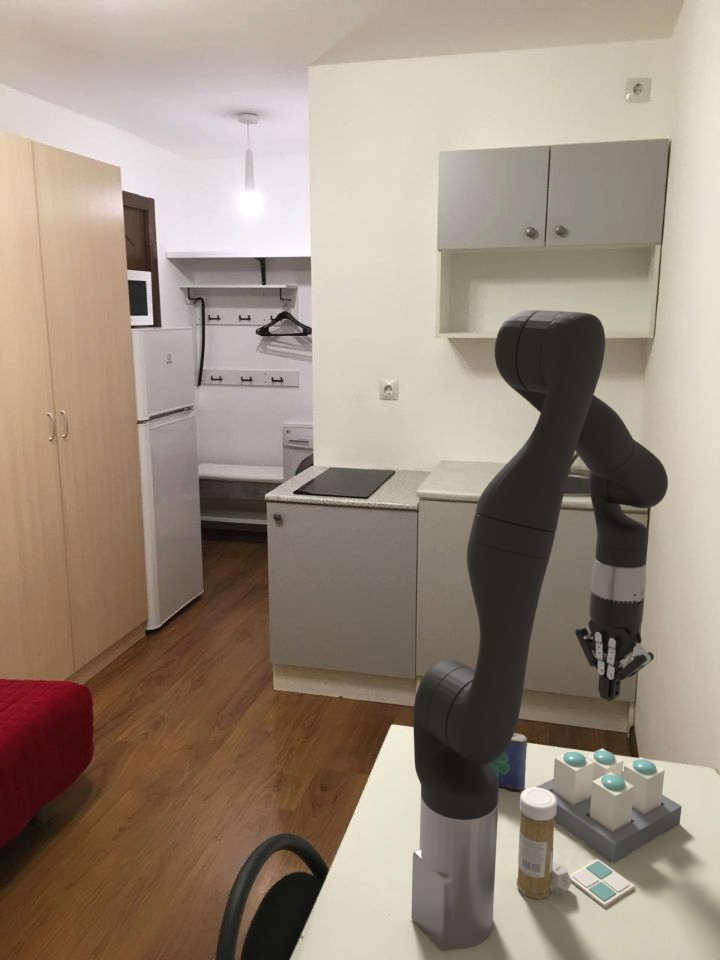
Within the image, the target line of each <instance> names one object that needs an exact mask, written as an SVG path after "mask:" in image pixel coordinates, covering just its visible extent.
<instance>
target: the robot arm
mask: <svg viewBox="0 0 720 960" xmlns="http://www.w3.org/2000/svg"><path fill="white" fill-rule="evenodd" d="M605 349H606V334H605V329H604V326H603V324H602V321H601V320H600V318H598V316H596V315H594V314H591V313H588V312H579V311H563V310H545V309H544V310H542V309H540V310H539V309H538V310H537V309H534V310H533V309H532V310H530V309H529V310H519V311H517V312H514V313H512V314H511V315H509V316H508V317H506V319H505V320H504V321H503V322H502V324H501V326H500V327H499V330H498V332H497V335H496V338H495V342H494V360H495V365H496V368H497V370H498V372H499V375H500V377H501V378H502V379H503V380H504V382H505V383H506V384H507V385H508V386H509V387H510V388H511V389H513V390H514V391H515V392H516V393H518V394H519V395H520V396H521V397H522V398H524V399H525V401H527V402H528V403H529V404H530V405H531V406H533V407H534V408H535V410H536V411H538V412H539V416H538V419H537V422H536V425H535V426H534V428H533V430H532V432H531V434H530V436H529V437H528V439H527V440H526V441H525V443H524V444H523V445H522V446H521V448H520V449H519V450H518V451H517V453H516V454H514V456H513V457H512V458H511V459H510V460H509V461H508V462H506V464H505V465H504V466H503V467H502V468H501V469H500V470H499V472H497V474H496V475H494V477H493V478H492V480H490V482H489V483H488V485H487V486H485V488H484V490H483V491H482V492H481V495H480V496H479V499H478V501H477V505H476V508H475V513H474V517H473V520H472V525H471V528H470V529H471V530H470V533H469V539H468V542H467V548H466V549H467V550H466V565H467V566H466V567H467V573H468V578H469V582H470V586H471V591H472V597H473V600H474V604H475V608H476V613H477V618H478V623H479V645H478V652H477V653H478V654H477V660H476V665H475V668H473V667H471V666H468V665H467V664H465V663H463V662H460V661H458V660H453V659H448V660H447V659H446V660H442V661H439V662H437V663H436V664H434V665H432V666H431V667H430V668H428V670H427V671H426V672H425V673H424V676H422V678H421V680H420V682H419V683H418V687H417V690H416V693H415V697H414V703H413V714H412V715H413V716H412V717H413V718H412V719H413V720H412V723H413V725H412V726H413V727H412V728H413V750H414V752H413V753H414V769H415V772H416V776H417V778H418V781H419V783H420V815H419V817H420V818H419V820H420V821H419V848H418V849H417V850H416V849H415V851H414V852H413V853H412V873H411V876H412V880H411V881H412V882H411V914H410V915H411V919H412V921H413V922H414V923H415V924H416V925H418V927H419V928H420V929H421V930H422V931H423V932H424V934H426V935H427V937H429V939H430V940H431V941H432V942H433V943H434V944H435V945H436V946H437V947H438V948H439V949H440V950H441V951H445V950H447V949H449V948H463V949H464V948H468V947H473V946H475V945H478V944H480V943H482V942H484V940H485V939H487V938H488V937H489V935H490V933H491V931H492V928H493V921H494V906H495V905H494V901H495V880H496V879H495V878H496V864H497V863H496V860H497V859H496V857H497V838H498V818H499V799H500V788H499V780H498V777H497V774H496V772H495V770H494V769H493V767H492V766H491V765H490V763H492V762H493V761H495V760H496V759H498V758H499V757H500V756H501V755H502V754H503V752H504V751H505V750H506V748H507V747H508V745H509V743H510V741H511V739H512V737H513V734H514V733H516V732H515V730H516V728H517V725H518V720H519V717H520V712H521V707H522V700H523V695H524V694H523V693H524V688H525V678H526V672H527V664H528V658H529V657H528V656H529V650H530V643H531V638H532V631H533V628H534V621H535V618H536V614H537V610H538V609H537V608H538V604H539V600H540V595H541V591H542V586H543V582H544V579H545V575H546V572H547V568H548V565H549V561H550V558H551V554H552V549H553V547H554V546H553V545H554V542H555V537H556V532H557V529H558V523H559V518H560V512H561V508H562V503H563V500H564V495H565V490H566V486H567V482H568V478H569V475H570V470H571V466H572V463H573V458H574V457H575V452H576V453H577V455H578V456H579V458H580V459H581V460H582V462H583V464H584V466H586V468H587V469H588V470H589V472H588V480H587V481H588V490H589V491H588V492H589V495H590V500H591V504H592V509H593V514H594V521H595V526H596V534H597V535H596V546H595V555H594V557H595V558H594V562H593V563H594V564H593V568H592V574H591V586H590V597H589V598H590V601H589V611H588V616H589V617H590V619H589V621H588V623H587V624H588V625H586V626H583V627H581V628H577V629H575V631H574V633H575V636H576V638H577V640H578V642H579V644H580V647H581V649H582V651H583V653H584V656H585V658H586V660H587V663H588V665H590V667H594V668H595V669H596V670H597V672H598V674H599V676H598V677H599V678H598V693H599V697H600V698H601V699H604V700H606V701H607V702H610V701H613V700H615V699H616V698H618V697H619V696H620V694H621V681H623V680H626V679H628V678H632V677H633V676H635V675H636V674H637V673H638V672H640V671H641V670H642V669H644V668H645V667H646V666H647V665H649V664H650V663H651V662H652V661H653V660H654V658H655V657H654V654H653V652H651V651H648V652H647V651H646V649H645V648H644V647H643V645H642V644H641V643H642V636H641V632H640V629H641V628H640V627H641V625H642V624H643V623H642V622H643V619H644V609H645V608H644V606H645V597H646V586H647V585H646V584H647V569H646V568H647V567H646V566H647V556H648V543H649V530H648V527H647V526H646V525H645V524H644V523H642V522H640V521H638V520H636V519H633V518H632V517H629V516H628V515H627V514H625V513H624V511H623V509H622V506H628V507H633V508H638V509H650V508H653V507H655V506H657V505H659V504H660V502H662V500H663V499H664V497H665V496H666V494H667V492H668V487H669V479H668V478H669V477H668V474H667V471H666V468H665V467H664V464H663V463H662V461H661V460H660V459H659V458H658V457H657V456H656V455H655V454H653V452H651V451H650V450H649V449H647V448H646V447H645V446H644V445H642V444H641V443H640V442H639V441H636V440H635V439H634V438H633V436H632V435H631V433H630V431H629V430H628V427H627V425H626V424H625V422H624V421H623V420H622V418H621V416H620V415H619V414H618V413H617V412H616V410H614V409H613V408H612V407H611V406H610V405H608V404H607V403H606V402H605V401H603V400H602V399H600V398H599V397H598V396H596V395H595V391H596V388H597V385H598V381H599V379H600V375H601V372H602V368H603V363H604V358H605V352H606V351H605ZM631 653H632V655H631ZM630 655H631V658H630V659H631V661H630V662H629V663H628V661H629V656H630Z"/></svg>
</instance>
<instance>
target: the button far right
mask: <svg viewBox="0 0 720 960" xmlns="http://www.w3.org/2000/svg"><path fill="white" fill-rule="evenodd" d="M623 780H625V781H626V782H628V783H630V784H631V785H633V786H634V792H633V803H632V808H634V809H635V810H637V811H638V812H640V813H641V814H643V815H647V814H649V813H650V812H652V811H654V810H656V809H657V808H659V807H661V801H662V795H663V790H664V781H665V769H663V768H661V767H660V766H658V765H656V764H655V763H654V762H652V761H650V760H647V759H645V758H643V757H642V756H641V757H638V758H636V759H634V760H632V761H630V762H628V763H627V764H623Z"/></svg>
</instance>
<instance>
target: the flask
mask: <svg viewBox="0 0 720 960" xmlns="http://www.w3.org/2000/svg"><path fill="white" fill-rule="evenodd" d="M527 748H528V739H527V737H526V735H524V734H522V733H516V732H514V734H513V737H512V739H511V741H510V743H509V745H508V747H507V748H506V750H505V751H504V752H503V754H502V755H501V756H500V757H499V758H498V759H496V760H495V761H493V762H492V763H490V765H491V766H492V767H493V769H494V770H495V772H496V774H497V777H498V780H499V790H505V791H508V792H511V793H513V792H514V793H515V792H516V793H522V792H523V791H524V790H525V789H526V788H525V786H526V771H527V770H526V769H527V768H526V764H527V762H526V761H527Z"/></svg>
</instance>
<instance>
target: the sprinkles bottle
mask: <svg viewBox="0 0 720 960" xmlns="http://www.w3.org/2000/svg"><path fill="white" fill-rule="evenodd" d="M519 809H520V823H519V830H518V831H519V832H518V833H519V835H518V838H519V839H518V855H517V857H518V858H517V865H518V867H517V869H518V870H517V879H516V886H517V890H518V891H519V892H521V893H522V894H523V895H524V896H526V897H527V898H531V899H537V900H540V899H544V898H547V897H548V896H550V894H551V893H552V892H551V890H550V889H549V886H550V882H551V873H552V867H553V863H554V834H555V821H554V818H555V815H556V811H557V800H556V797H555V796H554V795H553V794H552V793H551V792H550V791H548V790H546V789H543V788H537V786H536V787H533V786H532V787H528V788H524V790H523V791H521V792H520V800H519Z"/></svg>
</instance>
